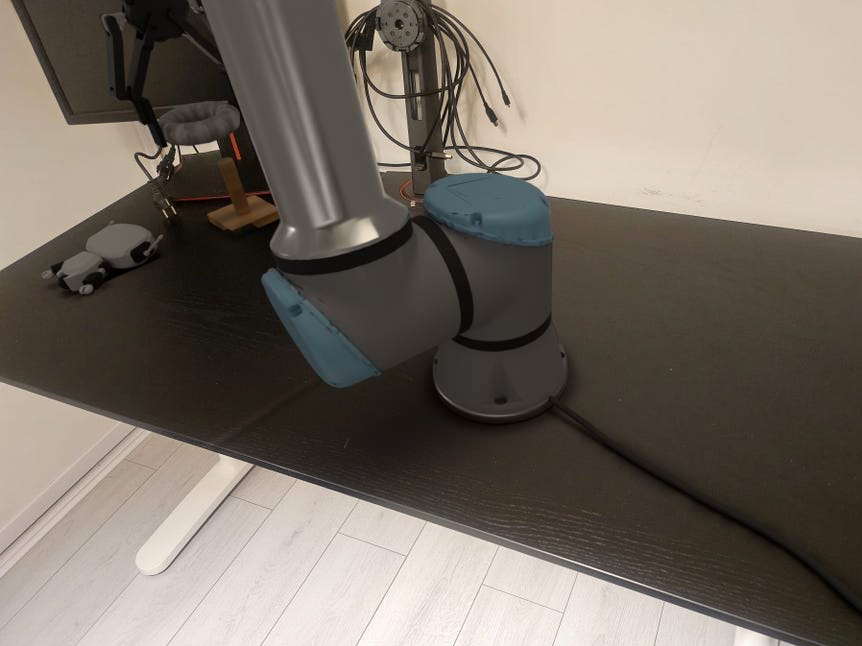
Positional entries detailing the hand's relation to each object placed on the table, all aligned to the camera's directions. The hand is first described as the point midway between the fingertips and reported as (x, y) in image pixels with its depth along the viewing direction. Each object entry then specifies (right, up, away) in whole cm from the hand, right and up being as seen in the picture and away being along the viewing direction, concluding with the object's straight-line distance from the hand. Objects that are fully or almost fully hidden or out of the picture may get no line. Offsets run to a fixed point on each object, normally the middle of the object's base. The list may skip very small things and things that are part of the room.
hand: (201, 131), depth 90 cm
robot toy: (-16, -20, +4) cm, 26 cm away
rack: (+1, -10, +14) cm, 17 cm away
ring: (0, +1, -1) cm, 1 cm away
